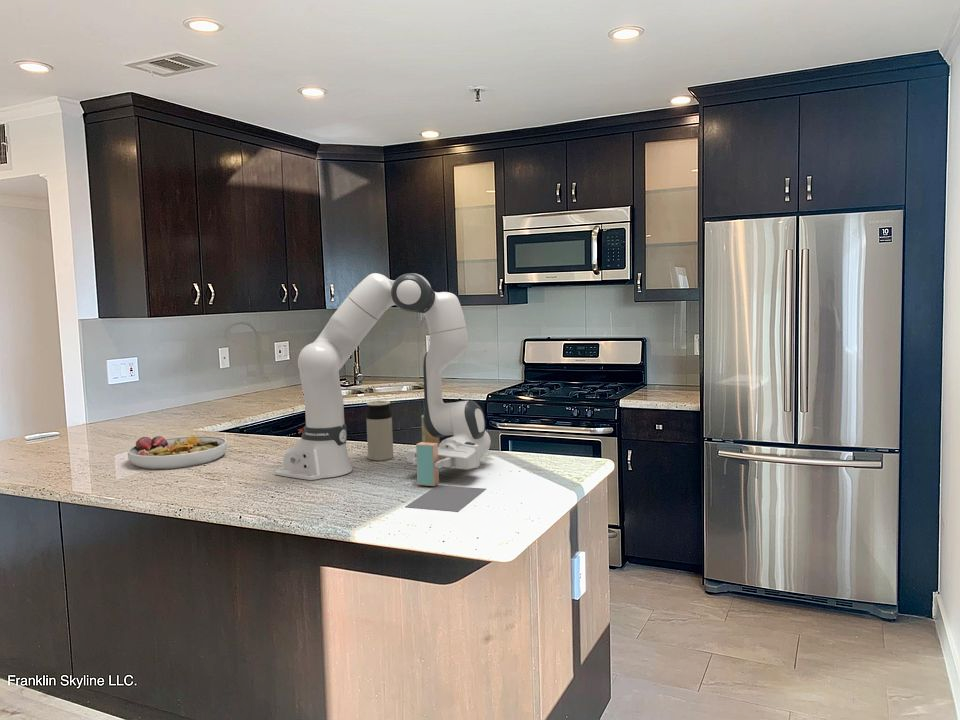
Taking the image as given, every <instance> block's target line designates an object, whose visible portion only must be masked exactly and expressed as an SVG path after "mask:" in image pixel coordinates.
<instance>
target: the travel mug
mask: <svg viewBox="0 0 960 720" xmlns="http://www.w3.org/2000/svg"><path fill="white" fill-rule="evenodd" d="M390 404H391V401H389V400H372V401H371V400H370V401H368V402H366V405H367V408H368V409H367V410H366V414H365V416H366V418H365V419H366V435H367V437H366V440H367V441H366V442H367V458H368V460H371V461H376V462H379V461H380V462H381V461H388V460H391V459H393V458H394V440H393V439H394V437H393V435H394V434H393V417H392V416H393V414H392V413H393V412H392V410H391V409H390Z"/></svg>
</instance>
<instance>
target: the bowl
mask: <svg viewBox="0 0 960 720" xmlns="http://www.w3.org/2000/svg"><path fill="white" fill-rule="evenodd" d="M227 449H228V440H227V439H226V438H223V437H219V436H211V435H210V436H209V435H208V436H206V435H203V436H199V435H198V436H197V435H194V434H193V435H192V434H191V435H190V436H181V437H173V438H172V437H171V438H164V437H163V436H160V435H159V436H154V437H153V438H151V437H149V436H142V437H140V438H139V439H137V441H135V446H133V447H130V448H128V450H127V456H128V460H129V461H130V463H132V464H133V465H134V466H135V467H138V468H140V469H147V470H148V469H149V470H169V469H171V470H173V469H181V468H188V467H194V466H195V467H196V466H198V465H199V466H200V465H203V464H207V463H210V462H213V461H215V460H217V459H219V458H221V457H222V456H223V455H224V454H225V452H226V451H227Z"/></svg>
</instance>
